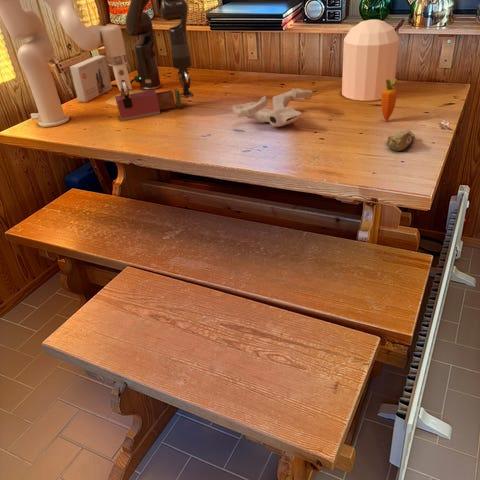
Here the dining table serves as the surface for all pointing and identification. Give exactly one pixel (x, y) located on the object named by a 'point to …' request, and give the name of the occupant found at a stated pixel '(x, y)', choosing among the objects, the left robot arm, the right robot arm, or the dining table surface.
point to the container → (369, 60)
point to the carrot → (388, 99)
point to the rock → (400, 140)
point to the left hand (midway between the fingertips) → (127, 104)
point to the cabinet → (139, 105)
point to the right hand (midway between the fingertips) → (186, 97)
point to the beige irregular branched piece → (280, 112)
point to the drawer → (170, 98)
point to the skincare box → (91, 78)
